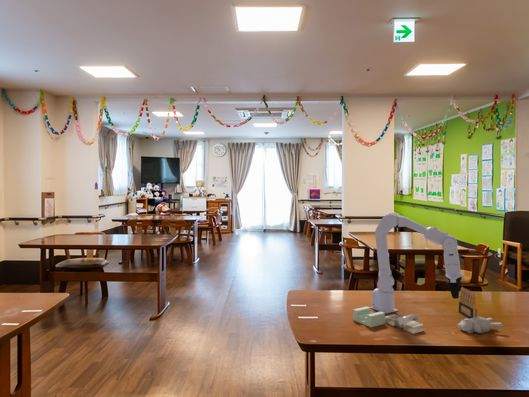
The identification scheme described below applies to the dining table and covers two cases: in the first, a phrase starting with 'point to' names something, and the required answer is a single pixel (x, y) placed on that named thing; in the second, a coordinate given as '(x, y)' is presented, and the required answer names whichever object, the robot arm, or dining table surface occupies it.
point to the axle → (405, 320)
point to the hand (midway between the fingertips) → (455, 295)
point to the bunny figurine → (477, 324)
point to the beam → (409, 327)
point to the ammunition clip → (467, 303)
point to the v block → (368, 317)
